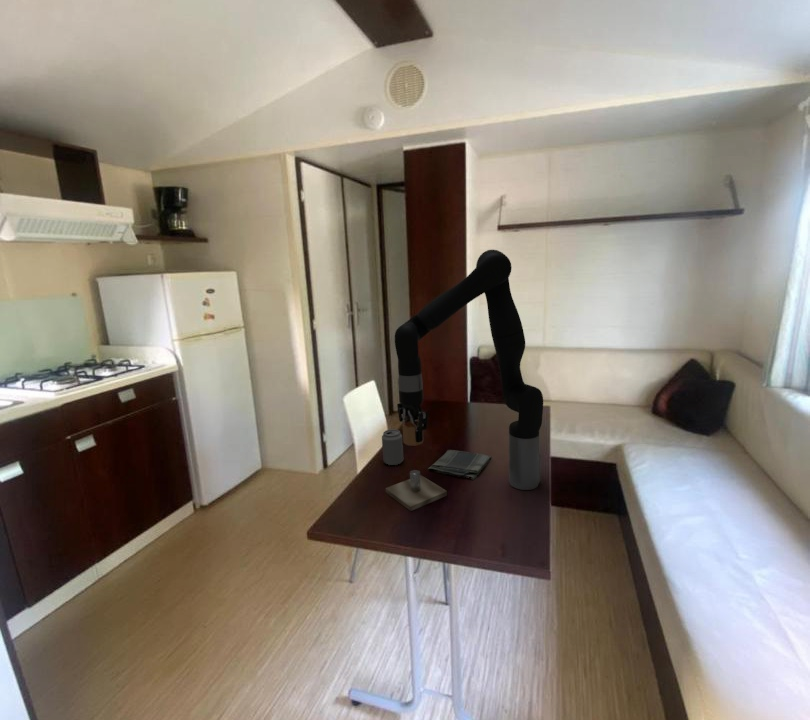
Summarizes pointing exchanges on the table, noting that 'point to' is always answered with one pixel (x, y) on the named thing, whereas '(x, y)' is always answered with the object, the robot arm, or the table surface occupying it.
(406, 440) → the collar
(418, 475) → the grey glossy cylinder
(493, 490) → the table surface
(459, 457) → the dish towel
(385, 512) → the table surface
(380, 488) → the table surface
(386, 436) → the can
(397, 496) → the base
